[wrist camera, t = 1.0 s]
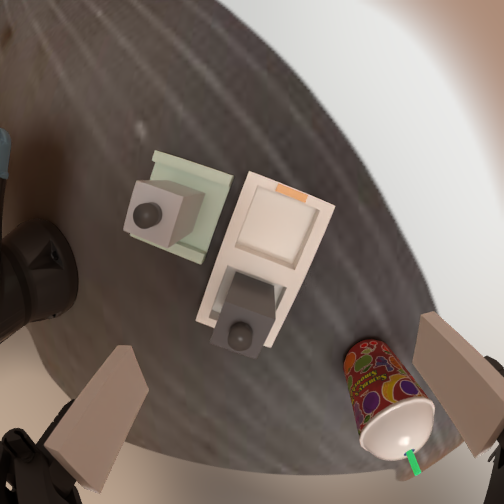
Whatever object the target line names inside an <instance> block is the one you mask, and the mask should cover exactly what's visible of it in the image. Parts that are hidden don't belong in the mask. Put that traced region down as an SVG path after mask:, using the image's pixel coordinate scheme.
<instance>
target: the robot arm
mask: <svg viewBox="0 0 504 504" xmlns="http://www.w3.org/2000/svg"><path fill="white" fill-rule="evenodd" d="M10 151H11V138H10V135H9V133H8V132H7V131H6V130H5V129H3V128H0V344H1V343H2V342H3V341H4V340H6V339H7V338H8V337H9V336H11V335H12V334H14V333H15V332H16V331H18V330H19V329H20V328H22V327H23V326H25V325H26V324H27V323H30V322H36V321H41V320H45V319H52V318H56V317H58V316H60V315H61V314H63V313H64V312H66V311H67V310H68V309H69V308H70V307H71V306H72V305H73V303H74V301H75V298H76V295H77V289H78V276H77V269H76V264H75V260H74V257H73V254H72V251H71V249H70V247H69V245H68V243H67V241H66V239H65V237H64V236H63V234H62V233H61V232H60V231H59V229H58V228H57V227H56V226H55V225H53V224H52V223H51V222H49V221H47V220H44V219H39V218H38V219H32V220H28V221H25V222H23V223H21V224H19V225H18V226H17V227H16V228H15V229H14V230H12V231H11V232H10V233H9V234H7V235H6V236H5V237H4V238H3V239H2V215H3V203H4V193H5V185H6V179H8V176H9V174H8V164H9V157H10ZM412 363H413V365H414V366H415V368H416V369H417V370H418V372H419V373H420V375H421V376H422V377H423V379H424V380H425V382H426V383H427V384H428V386H429V387H430V389H431V390H432V392H433V393H434V395H435V396H436V398H437V399H438V401H439V402H440V404H441V405H442V407H443V408H444V410H445V411H446V413H447V414H448V416H449V417H450V419H451V420H452V422H453V423H454V425H455V427H456V428H457V430H458V431H459V433H460V435H461V436H462V438H463V439H464V441H465V443H466V444H467V446H468V448H469V449H470V451H471V453H472V454H473V456H474V458H477V457H478V456H480V455H482V454H483V453H485V452H486V451H488V450H489V449H490V448H491V447H492V445H493V444H494V443H495V441H496V440H497V441H498V442H499V445H498V447H497V448H496V449H495V451H494V452H493V453H492V454H491V456H490V457H489V459H488V462H490V461H491V460H492V458H493V457H494V456H495V459H494V461H493V462H494V465H493V470H492V474H491V478H490V483H489V486H488V490H487V494H486V497H485V500H484V504H504V367H503V366H502V365H501V364H500V363H499V362H497V360H495V359H493V358H491V357H489V356H485V357H483V356H482V355H481V354H480V353H479V352H478V351H477V350H476V349H475V348H474V347H472V346H471V345H470V344H469V343H468V342H467V341H466V340H465V339H464V338H463V337H462V336H461V335H460V334H459V333H458V332H456V331H455V330H454V329H453V328H452V327H451V326H450V325H449V324H448V323H446V322H445V321H444V320H443V319H442V318H441V317H440V316H439V315H437V314H436V313H435V312H434V311H433V312H429V313H425V314H421V317H420V324H419V330H418V336H417V341H416V346H415V351H414V356H413V361H412ZM148 391H149V389H148V387H147V384H146V382H145V380H144V377H143V375H142V372H141V370H140V367H139V365H138V362H137V360H136V357H135V354H134V352H133V349H132V346H129V345H117V347H116V348H115V349H114V350H113V352H112V353H111V354H110V356H109V357H108V358H107V359H106V361H105V362H104V363H103V364H102V366H101V367H100V368H99V370H98V371H97V372H96V373H95V375H94V376H93V377H92V379H91V380H90V381H89V383H88V384H87V385H86V387H85V388H84V389H83V391H82V392H81V393H80V395H79V396H78V397H77V399H76V400H75V399H73V400H71V401H70V402H69V403H67V404H66V405H64V407H63V408H62V410H61V411H60V412H59V413H58V415H57V416H56V417H55V419H54V422H52V423H51V424H50V426H49V427H48V428H47V430H46V431H45V432H44V434H43V435H42V437H41V438H40V439H39V441H38V442H37V444H35V443H34V442H33V441H32V440H31V438H30V437H29V436H28V434H27V433H26V432H25V431H24V430H23V429H20V428H14V429H11V430H9V431H8V432H7V433H5V435H4V436H3V438H2V441H0V504H82V502H81V499H80V496H79V493H78V490H77V488H76V487H75V486H74V484H75V482H76V481H77V482H78V483H79V484H80V485H81V486H82V487H84V488H85V489H87V490H90V491H93V492H95V493H98V494H100V493H101V491H102V489H103V486H104V484H105V482H106V480H107V477H108V475H109V473H110V471H111V469H112V466H113V464H114V462H115V460H116V458H117V456H118V453H119V451H120V449H121V447H122V445H123V443H124V441H125V438H126V436H127V434H128V432H129V430H130V428H131V426H132V424H133V422H134V420H135V418H136V416H137V413H138V411H139V409H140V407H141V405H142V403H143V401H144V399H145V397H146V395H147V393H148ZM6 481H7V482H8V483H9V484H10V485H11V486H12V490H11V491H10V490H9V489H8V488H7V487H6Z"/></svg>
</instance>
